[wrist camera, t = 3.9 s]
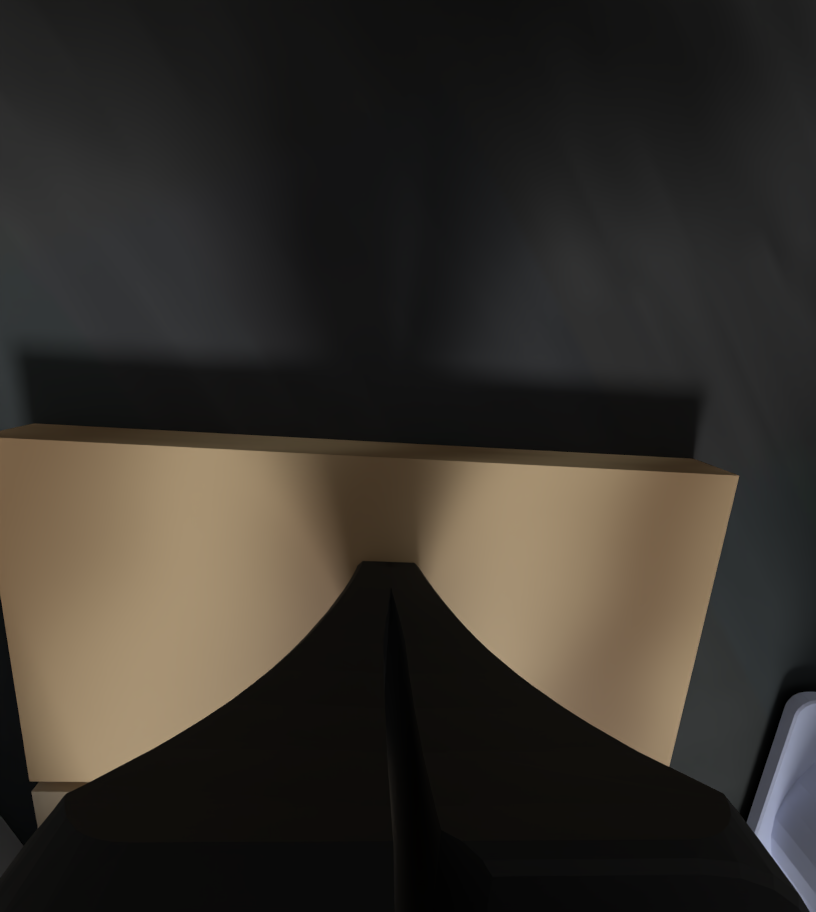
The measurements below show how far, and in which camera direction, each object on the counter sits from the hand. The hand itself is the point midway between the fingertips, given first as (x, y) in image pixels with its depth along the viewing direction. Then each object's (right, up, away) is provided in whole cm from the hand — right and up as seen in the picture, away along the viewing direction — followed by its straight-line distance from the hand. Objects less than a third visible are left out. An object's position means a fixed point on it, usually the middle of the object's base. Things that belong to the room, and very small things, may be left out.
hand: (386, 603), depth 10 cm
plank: (0, 0, +2) cm, 2 cm away
